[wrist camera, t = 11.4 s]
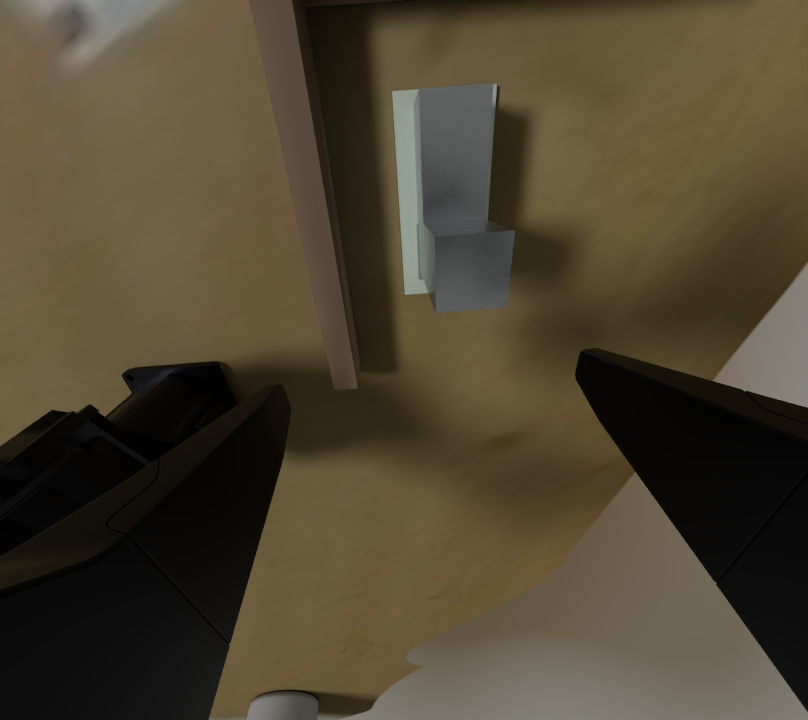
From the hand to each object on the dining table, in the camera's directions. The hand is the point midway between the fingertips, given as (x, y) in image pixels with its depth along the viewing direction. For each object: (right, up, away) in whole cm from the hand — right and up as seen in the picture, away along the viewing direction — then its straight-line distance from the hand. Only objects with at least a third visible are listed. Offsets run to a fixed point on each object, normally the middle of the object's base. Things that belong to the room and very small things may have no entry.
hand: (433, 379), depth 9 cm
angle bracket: (+1, +10, +8) cm, 12 cm away
